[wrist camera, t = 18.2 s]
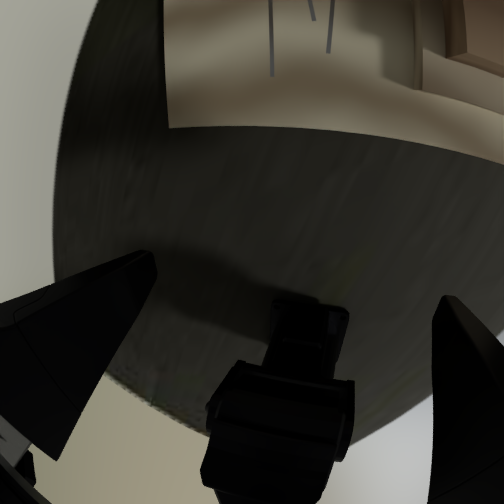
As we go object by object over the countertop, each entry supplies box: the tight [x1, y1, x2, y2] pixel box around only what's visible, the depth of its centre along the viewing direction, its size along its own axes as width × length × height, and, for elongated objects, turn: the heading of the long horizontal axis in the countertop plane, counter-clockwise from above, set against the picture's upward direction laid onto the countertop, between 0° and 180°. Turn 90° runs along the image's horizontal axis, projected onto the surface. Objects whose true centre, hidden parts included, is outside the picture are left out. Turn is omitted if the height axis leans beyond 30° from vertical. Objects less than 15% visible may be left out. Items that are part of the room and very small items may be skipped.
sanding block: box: [411, 0, 504, 116], centre depth 7 cm, size 10×6×5 cm, turn 1°
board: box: [164, 0, 504, 165], centre depth 11 cm, size 16×24×2 cm, turn 91°
